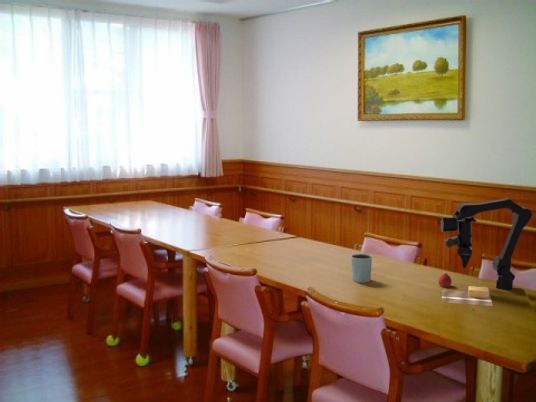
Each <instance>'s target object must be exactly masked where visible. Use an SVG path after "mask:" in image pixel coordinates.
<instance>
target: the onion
mask: <svg viewBox="0 0 536 402" xmlns="http://www.w3.org/2000/svg"><path fill="white" fill-rule="evenodd" d="M437 282H438V285H439V286H440V287H442V288H450V287H451V285H452V282H453V281H452V278H451V276H450V275H449V274H448V273H447V272H446V271H444V272H443V274H441V275H440V276H439V277H438V281H437Z"/></svg>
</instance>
